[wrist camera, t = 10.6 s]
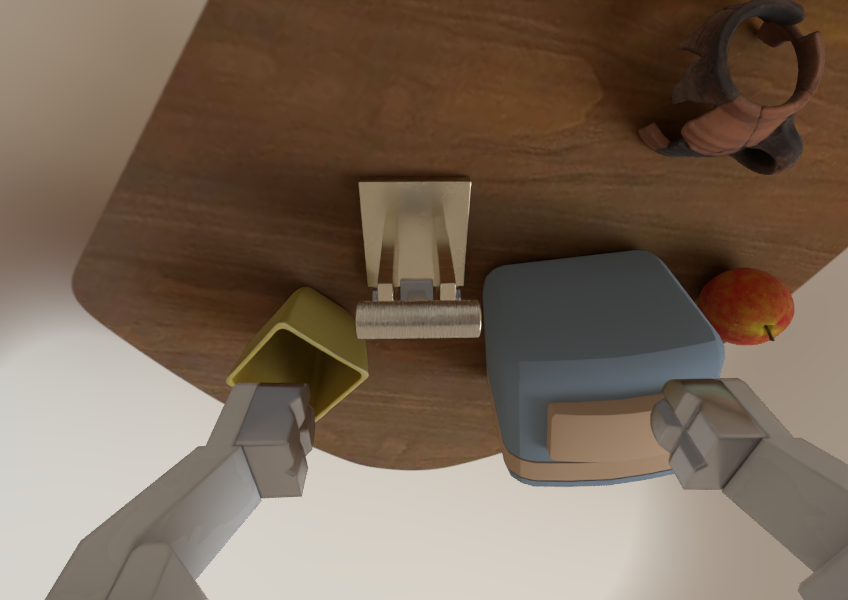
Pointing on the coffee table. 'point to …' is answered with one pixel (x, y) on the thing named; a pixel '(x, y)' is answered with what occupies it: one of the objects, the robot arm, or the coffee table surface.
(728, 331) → the fruit
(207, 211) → the coffee table surface
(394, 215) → the bracket
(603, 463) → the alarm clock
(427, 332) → the lever
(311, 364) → the flower pot
